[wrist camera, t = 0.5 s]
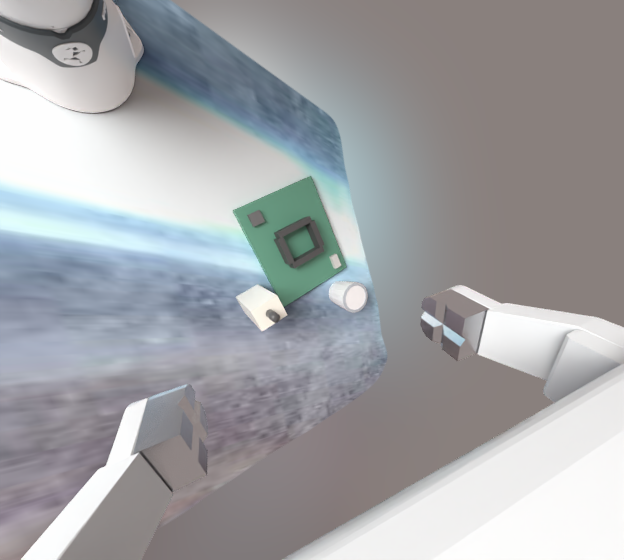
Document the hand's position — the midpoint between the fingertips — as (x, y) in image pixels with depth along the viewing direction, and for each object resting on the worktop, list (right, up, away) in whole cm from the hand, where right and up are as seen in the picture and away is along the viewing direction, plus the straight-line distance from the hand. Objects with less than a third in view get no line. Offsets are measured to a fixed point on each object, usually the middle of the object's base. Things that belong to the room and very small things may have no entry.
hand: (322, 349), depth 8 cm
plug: (-13, -2, +44) cm, 45 cm away
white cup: (+6, -1, +54) cm, 54 cm away
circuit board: (-4, +11, +46) cm, 48 cm away
